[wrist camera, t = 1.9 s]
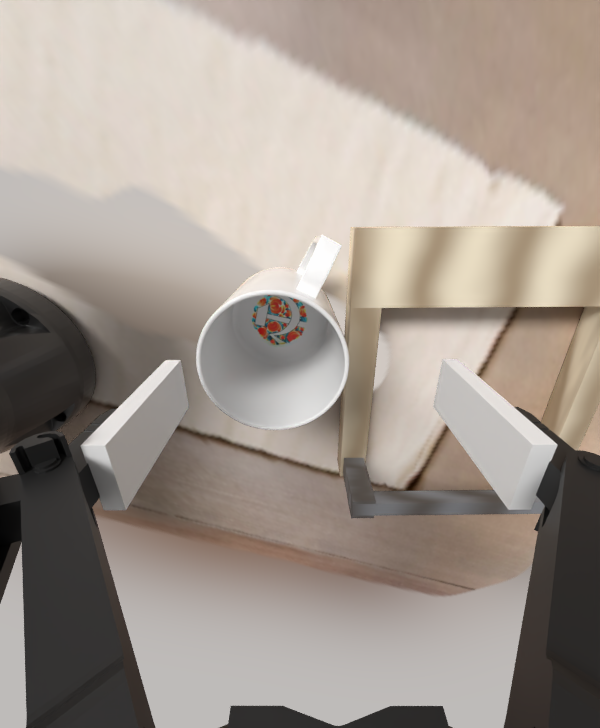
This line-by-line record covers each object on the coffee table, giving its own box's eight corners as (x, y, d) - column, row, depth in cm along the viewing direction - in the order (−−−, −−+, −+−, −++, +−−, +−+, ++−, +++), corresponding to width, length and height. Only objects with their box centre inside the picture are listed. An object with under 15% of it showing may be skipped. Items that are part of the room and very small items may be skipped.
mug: (303, 375, 31) (307, 449, 20) (218, 337, 29) (175, 398, 19) (367, 259, 26) (411, 281, 16) (270, 208, 25) (251, 196, 14)
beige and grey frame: (337, 460, 35) (348, 522, 28) (350, 227, 25) (372, 229, 18) (549, 457, 35) (615, 519, 28) (645, 225, 25) (786, 227, 18)
